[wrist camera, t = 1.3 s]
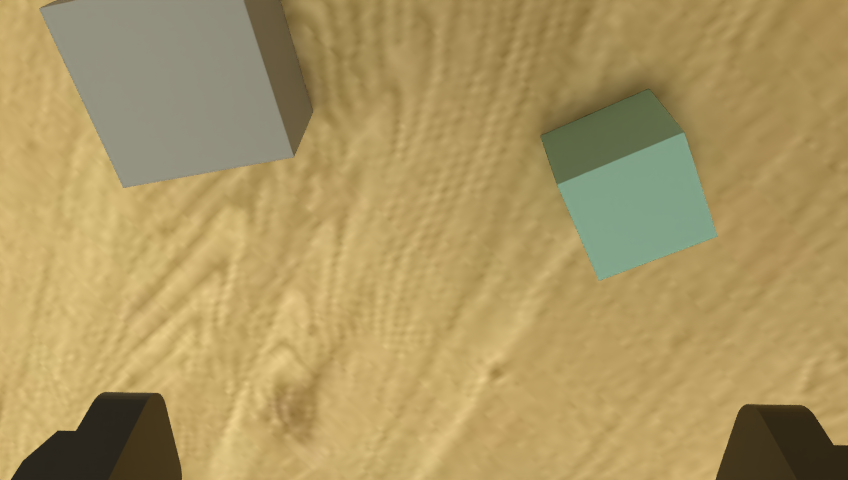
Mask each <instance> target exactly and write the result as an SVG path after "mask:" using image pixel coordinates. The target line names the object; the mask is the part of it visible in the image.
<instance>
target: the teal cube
mask: <svg viewBox="0 0 848 480" xmlns="http://www.w3.org/2000/svg"><path fill="white" fill-rule="evenodd" d="M541 139H542V142H543V145H544V148H545V151H546V154H547V157H548V160H549V163H550V165H551V168H552V171H553V174H554V177H555V180H556V183H557V186H558V188H559V190H560V193H561V195H562V197H563V200H564V202H565V204H566V206H567V209H568V211H569V213H570V216H571V218H572V220H573V222H574V225H575V227H576V229H577V232H578V234H579V236H580V238H581V241H582V243H583V245H584V248H585V250H586V252H587V254H588V257H589V259H590V261H591V264H592V266H593V268H594V270H595V273H596V275H597V277H598V280H599V281H600V280H603V279H605V278H608V277H611V276H613V275H616V274H619V273H621V272H624V271H627V270H629V269H632V268H635V267H637V266H640V265H643V264H645V263H648V262H651V261H653V260H656V259H659V258H661V257H664V256H667V255H669V254H672V253H675V252H677V251H680V250H683V249H685V248H688V247H691V246H693V245H696V244H699V243H701V242H704V241H707V240H709V239H712V238H715V237H717V233H716V230H715V227H714V224H713V221H712V218H711V215H710V211H709V208H708V205H707V202H706V199H705V196H704V193H703V189H702V186H701V183H700V180H699V177H698V174H697V171H696V167H695V164H694V161H693V158H692V155H691V152H690V149H689V146H688V142H687V139H686V136H685V133H684V131H683V130H682V129H681V128H680V126H679V125H678V124H677V123H676V121H675V120H674V119H673V118H672V116H671V115H670V114H669V113H668V112H667V110H666V109H665V108H664V107H663V105H662V104H661V103H660V102H659V100H658V99H657V98H656V97H655V96H654V94H653V93H652V92H651V91H650V89H647V90H645V91H642V92H640V93H638V94H635V95H633V96H631V97H629V98H626V99H624V100H622V101H619V102H617V103H615V104H612V105H610V106H608V107H606V108H603V109H601V110H599V111H596V112H594V113H592V114H590V115H587V116H585V117H583V118H580V119H578V120H576V121H573V122H571V123H569V124H567V125H564V126H562V127H560V128H557V129H555V130H553V131H550V132H548V133H546V134H544V135H541Z"/></svg>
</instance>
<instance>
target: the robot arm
mask: <svg viewBox="0 0 848 480" xmlns="http://www.w3.org/2000/svg"><path fill="white" fill-rule="evenodd" d="M11 480H182V472H181V465H180V461H179V457H178V453H177V449H176V445H175V441H174V437H173V433H172V429H171V425H170V421H169V417H168V412H167V408H166V404H165V401H164V399H163V397H162V396H161V394H159V393H123V392H104V393H101V394H100V395H98V396H97V397H96V399H95V400H94V401H93V403H92V405H91V406H90V408H89V410H88V411H87V413H86V415H85V417H84V418H83V420H82V422H81V423H80V425H79V427H78V429H77V430H76V431H57V432H56V433H55V434H54V435H52V436H51V437H50V438H49V439H48V440H47V441H45V442H44V443H43V444H42V445H41V446H40V447H38V448H37V449H36V450H35V451H34V452H33V453H32V454H30V455H29V456H28V457H27V458H26V459H25V460H23V462H22V463H21V465H20V466H19V468H18V469H17V471H16V473H15V474H14V476H13V477H12V479H11ZM716 480H848V446H845V445H833V443H832V442H831V440H830V439H829V437H828V436H827V434H826V433H825V431H824V429H823V428H822V426H821V425H820V423H819V422H818V420H817V419H816V417H815V416H814V414H813V413H812V412H811V411H810V410H809V409H808V408H806V407H805V406H802V405H756V404H746V405H744V406H743V407H742V408H741V409H740V410H739V412H738V415H737V417H736V420H735V423H734V426H733V429H732V432H731V435H730V438H729V441H728V444H727V447H726V450H725V453H724V456H723V459H722V462H721V465H720V468H719V471H718V473H717V477H716Z"/></svg>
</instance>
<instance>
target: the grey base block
mask: <svg viewBox="0 0 848 480" xmlns="http://www.w3.org/2000/svg"><path fill="white" fill-rule="evenodd" d="M39 10H40V12H41V14H42V16H43V18H44V20H45V22H46V24H47V27H48V29H49V31H50V33H51V35H52V37H53V39H54V41H55V44H56V46H57V48H58V50H59V52H60V54H61V56H62V58H63V61H64V63H65V65H66V67H67V69H68V71H69V73H70V75H71V78H72V80H73V82H74V84H75V86H76V88H77V90H78V92H79V95H80V97H81V99H82V101H83V103H84V105H85V107H86V109H87V112H88V114H89V116H90V118H91V120H92V122H93V124H94V127H95V129H96V131H97V133H98V135H99V137H100V139H101V141H102V144H103V146H104V148H105V150H106V152H107V154H108V156H109V158H110V161H111V163H112V165H113V167H114V169H115V171H116V173H117V175H118V178H119V180H120V182H121V184H122V186H123V188H126V187H131V186H137V185H142V184H148V183H153V182H159V181H165V180H170V179H176V178H181V177H187V176H192V175H198V174H204V173H209V172H215V171H220V170H226V169H231V168H237V167H242V166H248V165H254V164H259V163H265V162H270V161H276V160H281V159H287V158H293V157H294V156H295V153H296V151H297V149H298V146H299V144H300V142H301V139H302V137H303V135H304V132H305V130H306V128H307V125H308V123H309V120H310V118H311V116H312V113H313V110H312V107H311V103H310V100H309V96H308V93H307V90H306V86H305V83H304V79H303V76H302V73H301V69H300V66H299V62H298V59H297V56H296V52H295V49H294V45H293V42H292V39H291V35H290V32H289V28H288V25H287V22H286V18H285V15H284V11H283V8H282V5H281V1H280V0H56V1H54V2H52V3H49V4H47V5H45V6H43V7H41V8H39Z"/></svg>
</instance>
